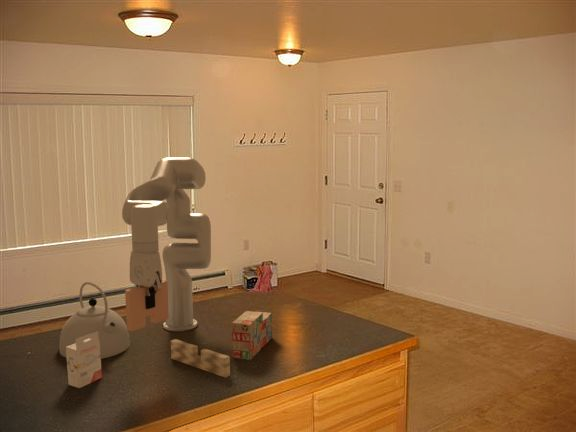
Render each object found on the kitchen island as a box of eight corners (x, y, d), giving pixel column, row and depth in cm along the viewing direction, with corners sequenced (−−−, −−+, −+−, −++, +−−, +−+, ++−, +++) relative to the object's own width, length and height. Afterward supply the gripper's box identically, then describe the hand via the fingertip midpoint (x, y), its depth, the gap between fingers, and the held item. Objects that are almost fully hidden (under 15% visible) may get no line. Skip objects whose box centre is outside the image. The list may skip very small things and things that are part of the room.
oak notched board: (171, 358, 192) (170, 340, 191) (175, 356, 194) (175, 338, 193) (225, 377, 177) (225, 358, 177) (230, 375, 179) (229, 356, 178)
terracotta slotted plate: (126, 329, 173) (125, 290, 171) (164, 317, 184) (163, 279, 182) (131, 331, 172) (129, 291, 170) (168, 318, 183) (167, 281, 181)
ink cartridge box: (91, 374, 180) (88, 327, 178) (102, 378, 177) (99, 330, 175) (67, 385, 173) (64, 336, 171) (78, 388, 170) (75, 339, 168)
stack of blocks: (255, 336, 212) (255, 302, 211) (272, 338, 211) (272, 304, 209) (232, 358, 192) (231, 321, 190) (250, 360, 190) (249, 323, 189)
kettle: (146, 348, 201) (143, 283, 197) (83, 368, 185) (79, 298, 181) (108, 331, 218) (105, 271, 214) (47, 347, 202) (43, 283, 198)
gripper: (118, 245, 176) (121, 305, 179) (152, 252, 167) (154, 315, 170) (139, 241, 182) (141, 299, 185) (173, 248, 173) (175, 309, 175)
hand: (147, 306), depth 177 cm, fingers closed on terracotta slotted plate, 1 cm apart
